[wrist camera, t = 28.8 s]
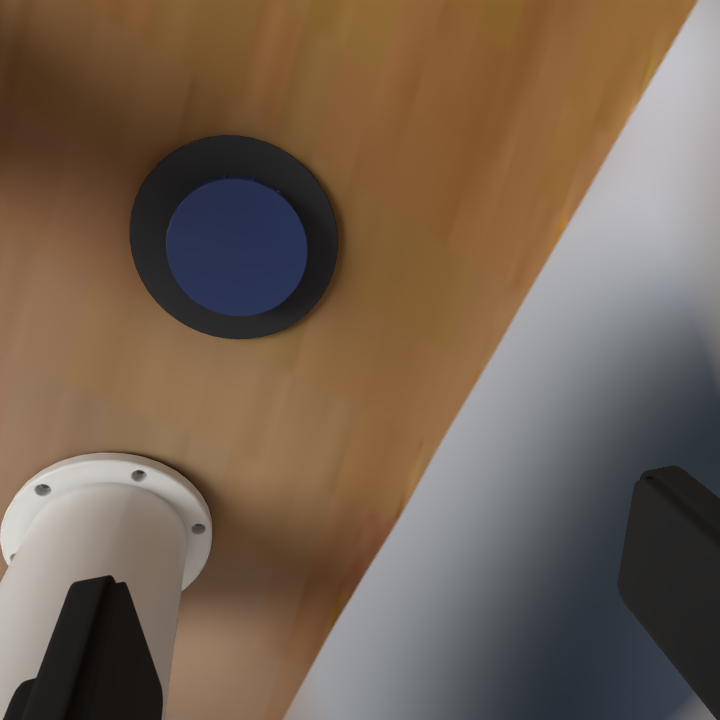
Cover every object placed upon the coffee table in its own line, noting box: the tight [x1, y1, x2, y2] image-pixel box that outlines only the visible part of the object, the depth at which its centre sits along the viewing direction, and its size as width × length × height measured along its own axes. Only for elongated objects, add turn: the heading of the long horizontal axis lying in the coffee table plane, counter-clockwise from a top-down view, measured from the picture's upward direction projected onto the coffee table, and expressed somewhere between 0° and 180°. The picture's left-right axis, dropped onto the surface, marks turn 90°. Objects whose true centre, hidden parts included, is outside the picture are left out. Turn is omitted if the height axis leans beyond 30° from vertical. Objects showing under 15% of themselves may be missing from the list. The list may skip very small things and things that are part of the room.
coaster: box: [130, 135, 338, 339], centre depth 30 cm, size 11×11×1 cm
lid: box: [166, 174, 308, 316], centre depth 29 cm, size 7×7×2 cm
